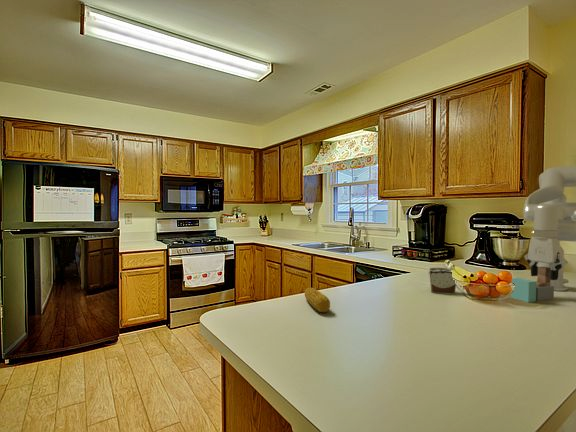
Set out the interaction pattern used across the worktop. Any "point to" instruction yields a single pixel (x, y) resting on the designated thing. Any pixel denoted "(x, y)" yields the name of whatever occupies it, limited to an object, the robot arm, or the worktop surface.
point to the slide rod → (543, 276)
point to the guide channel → (544, 293)
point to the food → (317, 300)
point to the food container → (442, 281)
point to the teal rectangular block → (524, 290)
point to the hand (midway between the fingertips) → (543, 277)
